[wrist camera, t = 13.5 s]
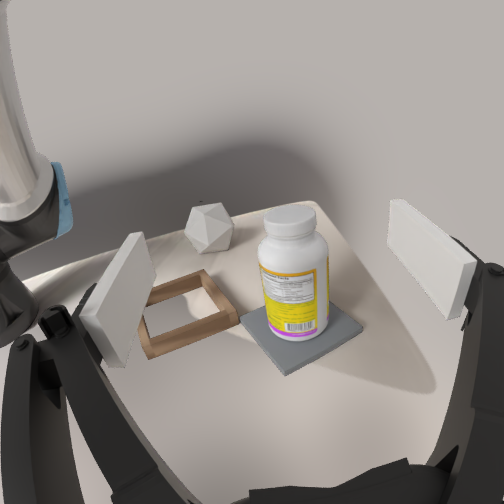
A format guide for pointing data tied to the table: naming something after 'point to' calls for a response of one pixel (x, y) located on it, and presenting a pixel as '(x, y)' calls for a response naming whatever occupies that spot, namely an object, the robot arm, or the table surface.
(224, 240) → the die
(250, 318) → the slate coaster
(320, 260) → the supplement bottle
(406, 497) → the robot arm
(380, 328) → the table surface
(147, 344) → the walnut frame
